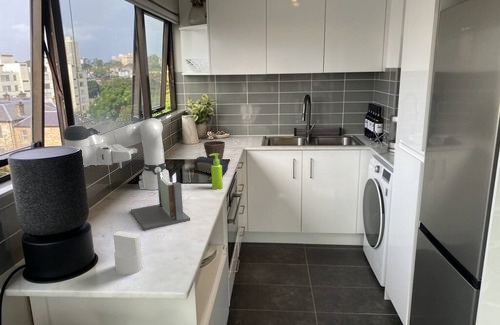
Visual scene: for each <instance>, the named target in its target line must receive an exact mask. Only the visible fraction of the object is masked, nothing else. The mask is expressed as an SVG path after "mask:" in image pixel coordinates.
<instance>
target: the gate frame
mask: <svg viewBox="0 0 500 325" xmlns="http://www.w3.org/2000/svg"><path fill="white" fill-rule="evenodd" d="M160 178H162V179H163V177H162V172H161V171H159V172H157V180H158V191H157V192H158V203H157V204H151V205H148V206H143V207H136V208H132V209H130V213H131V214H132V216H133V217H134V218H135V219H136V221H137V222H138V223H139V225H140V226H141V227H142V229H143V231H149V230H154V229H157V228H162V227H167V226H172V225H176V224H181V223H185V222H189V221H191V217H190V216H188V214H186V212H184V206H183V192H182V190H183V189H182V184H181V183H180V182H179V181H178V182H174V183H173V182H172V189H173V204H174V217H171V216H170V213H169V212H168V211H167V210H166V209H165V208H164V207H163V206H162V204H161V191H160Z"/></svg>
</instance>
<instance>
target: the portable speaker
mask: <svg viewBox="0 0 500 325" xmlns="http://www.w3.org/2000/svg"><path fill="white" fill-rule="evenodd" d="M213 160H214V159H213V158H208V157H207V156H198V157H196V159H195V160H194V168H195V169H196V170H197V171H198V172H201V171H202V172H203V173H206V172H207V174H210V173H211V175H212V170H211V166H212V165H214V164H213ZM219 162H220V165H222V176H223V175H225V174H227V172H228V169H229V166H228V163H227V162H226V161H224V160H223V159H222V160H219Z"/></svg>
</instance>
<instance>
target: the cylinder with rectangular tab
mask: <svg viewBox="0 0 500 325" xmlns="http://www.w3.org/2000/svg"><path fill="white" fill-rule="evenodd" d="M112 236H113V243H114V253H113V256H114V257H113V258H114V265H115V272H116V273H117V274H118V275H122V276H130V275H134V274H136V273H139V272H141V271H142V270H144V267H145V259H144V250H143V247H142V235H141V234H140V233H133V232H127V231H123V230H122V231H121V230H119V231H116V232H115V233H114V234H113V235H112Z"/></svg>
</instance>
